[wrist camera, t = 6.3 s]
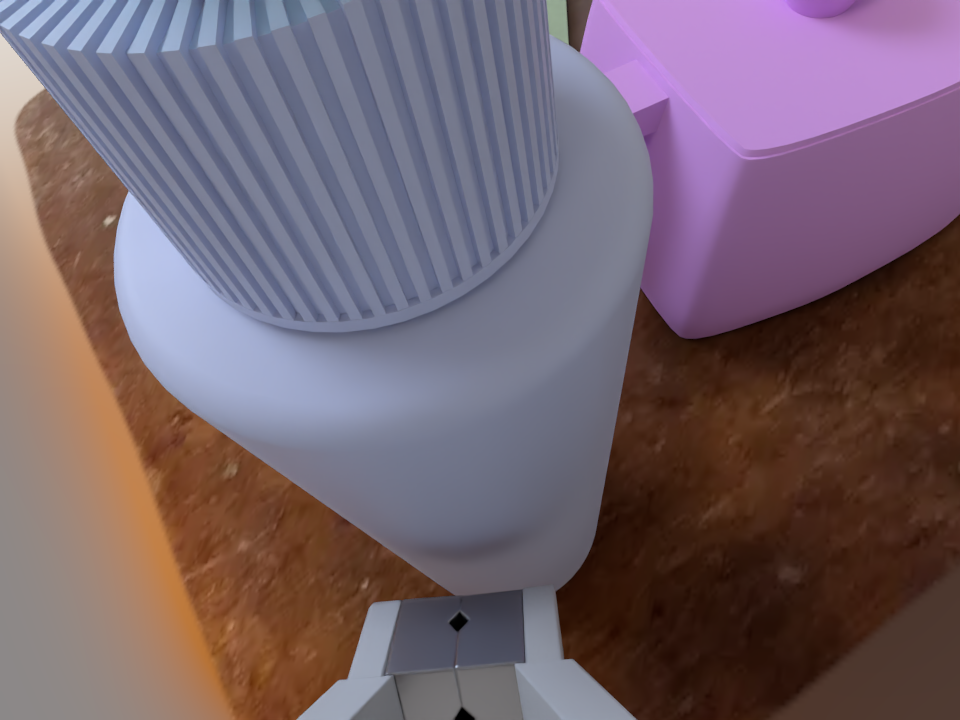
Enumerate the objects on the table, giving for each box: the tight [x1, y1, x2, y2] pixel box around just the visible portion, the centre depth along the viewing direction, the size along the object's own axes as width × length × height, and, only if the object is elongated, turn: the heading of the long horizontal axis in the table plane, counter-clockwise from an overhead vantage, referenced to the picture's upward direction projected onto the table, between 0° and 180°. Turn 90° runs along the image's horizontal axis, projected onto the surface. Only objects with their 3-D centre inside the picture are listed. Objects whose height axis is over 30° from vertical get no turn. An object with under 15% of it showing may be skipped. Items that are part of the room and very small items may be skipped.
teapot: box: [580, 0, 960, 339], centre depth 20 cm, size 18×10×10 cm, turn 113°
